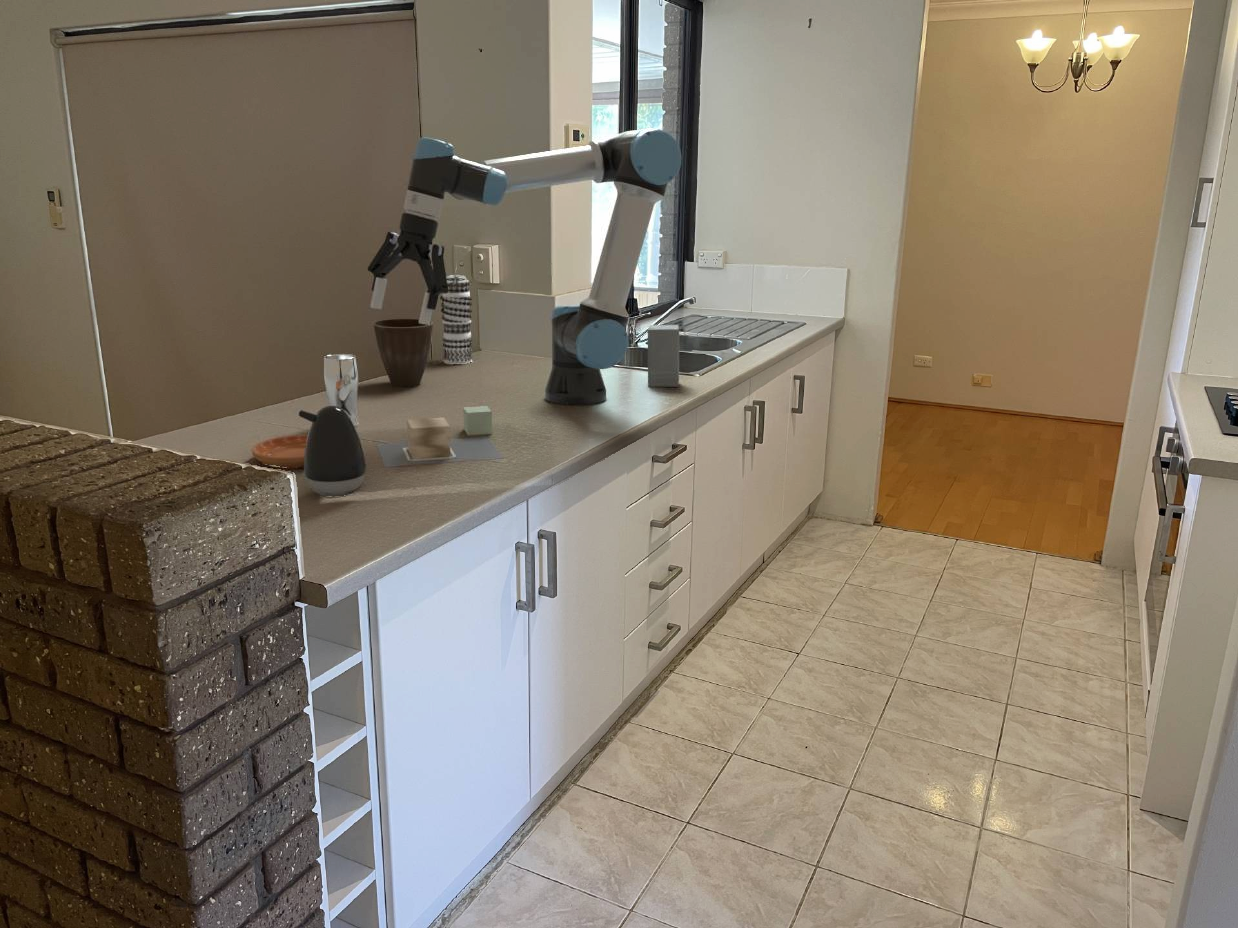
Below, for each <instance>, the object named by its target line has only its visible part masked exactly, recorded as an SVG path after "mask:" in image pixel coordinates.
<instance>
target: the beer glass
mask: <svg viewBox="0 0 1238 928" xmlns="http://www.w3.org/2000/svg"><path fill="white" fill-rule="evenodd" d="M357 362H358V361H357V356H356V355H354V354H349V353H335V354H327V355H325V356H324V357H323V375H324V376H323V378H324V385H325V390H326V395H327V398H328V402H329V406H338V407H340V408H342V409H343V410H344V411H345V412H346V413H347V414H348V415H349V417H350V419H351V420H352V422H353V424H354V426H355V428H356V427H358V425H360V422H359V417H358V413H357V398H358V392H359V390H358V389H359V371H358V363H357Z"/></svg>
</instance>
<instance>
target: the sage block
mask: <svg viewBox="0 0 1238 928" xmlns="http://www.w3.org/2000/svg"><path fill="white" fill-rule="evenodd" d="M462 409H463V410H462V413H463V414H462V416H463V430H464V431H465V433H466V434H467V436H476V435H477V436H478V435H490V434H492V435H493V417H492V415H493V414H492V410H491V409H490V408H489V407H488V406H487V405H485V406H484V405H481V406H466V407H462Z"/></svg>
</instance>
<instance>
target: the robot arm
mask: <svg viewBox="0 0 1238 928" xmlns="http://www.w3.org/2000/svg"><path fill="white" fill-rule="evenodd" d="M417 141H418V142H417V145H416V149H415V152H414V156H413V160H412V165H411V171H410V173H409V174H410V175H409V180H408V185H407V190H406V194H405V199H404V204H403V210H405V212H403V213H401V218H400V222H399V230H400V233H396V232H392V231H388V232H387V233H386V236H385V240H384V242H383V243H382V244H381V247H380V248H379V250H378V251H377V253H376V254H375V256H374V257H373V258H372V260H371V261H370V263H369V265H368V266H367V271H368V272H370V273H371V274H372V275H373V282H372V286H371V291H372V297H371V301H370V308H371V309H376V310H377V309H378V310H382V308H383V303H384V299H385V298H384V297H385V294H386V288H387V284H388V279H387V276H388V274H390V272H392V271H393V270H394V269H395V268H396V267H397V266H398V265H399V264H400V263H401V262H402V261H403V260H411V261H413V262H416V264H418V266H419V268H420V271H421V273H422V277H423V279H424V282H425V284H426V287H427V290H426V291H425V292H424V296H423V300H422V306H421V309H420V315H419V318H418V319H419V323H420V324H427V325H430V321H431V322H432V315H433V311H435V310H436V309H437V304H438V301H439V296H441V295H442V294H443V293H448V285H447V278H446V276H447V272H446V266H445V265H446V264H445V260H444V254H445V246H443V245H439V244H436V243H435V244H433V241H434V239H435V238H436V235H437V231H438V226H439V223H438V221H437V219H440V217H441V213H442V208H443V203H444V199H445V194H446V193H448V195H451V197H453V198H454V199H456V200H461V201H463V200H467V201H475V202H478V203H482V204H483V205H490V206H495V207H497V206H499V205H500V204H501V202H502V201H503V198H504V197H505V194H507V193H514V192H519V191H520V192H522V191H526V190H533V189H540V188H541V189H542V188H546V187H552V186H554V187H555V186H559V185H566V184H573V183H580V182H585V181H586V182H587V181H593V182H594V184H601V183H613V185H614V187H615V188H616V192H617V196H616V199H615V202H614V206H613V209H612V210H613V211H612V213H611V218H610V220H609V225H608V228H607V231H606V235H605V238H604V239H605V240H604V242H603V246H602V249H601V252H600V257H599V260H598V264H597V268H596V271H595V274H594V278H593V282H592V285H591V288H590V292H589V296H588V297H587V298H584V299H583V300H582V301H580V303H579V305H559V306H555V307H554V308H553V309H552V316H551V319H550V320H551V351H552V353H551V357H552V358H551V362H552V363H551V364H552V366H551V370H550V373H549V377H548V378H547V379H548V380H547V382H546V387H545V389H544V398H545V400H546V401H548V402H551V403H555V404H562V405H574V406H575V405H576V406H577V405H582V406H583V405H592V404H597V403H602V402H605V401H606V399H607V388H606V385H605V382H604V378H603V375H602V372H601V370H606V369H610V368H612V367H615V366H617V364H619V363H620V362H621V361H622V360H624V357H625V356H626V353H628V349H629V344H630V343H629V342H630V341H629V335H628V332H627V330H626V329H627V325H628V322H629V318H630V315H629V313H628V311H627V309H626V305H627V301H628V297H629V294H630V291H631V287H632V284H633V280H634V277H635V274H636V269H637V266H638V263H639V259H640V255H641V254H642V253H641V252H642V250H643V245H644V243H645V238H646V235H647V231H648V229H649V228H648V227H649V225H650V220H651V218H652V214H653V211H654V208H655V205H656V204H657V203H658V202H660V201H661V200H663V199H664V196H665V194H666V190H667V187H668V184H669V183H670V182H672V180H673V179H674V178H676V177H677V175H678V174H679V172H680V170H681V165H682V151H681V148H680V145H679V142H677V140H676V138H675V137H674V136H673V135H672V134H671V133H669V132H667V131H666V130H665V129H661V128H653V127H647V128H643V129H636V130H635V129H634V130H627V131H623V132H621V133H617V134H615V135H611V136H608V137H604V138H599V139H594V140H593V139H591V140H590V141H589V142H588V144H587V145H584V146H576V147H570V148H562V149H554V150H550V151H549V150H548V151H542V152H537V153H535V152H534V153H528V154H521V155H514V156H508V157H507V156H506V157H502V158H501V157H500V158H496V159H495V158H493V159H488V160H486V159H485V160H482V161H472V160H471V161H470V160H467V159H464V158H461V157H458V156H457V155H455V147H454V145H453V144H451V143H450V142H449V143H448V142H445V141H442V140H439V139H436V138H431V137H424V136H423V137H421V138H419V140H417ZM397 245H398V246H397ZM430 254H431V255H430ZM430 256H431V257H430Z"/></svg>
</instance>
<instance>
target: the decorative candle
mask: <svg viewBox="0 0 1238 928" xmlns="http://www.w3.org/2000/svg"><path fill="white" fill-rule="evenodd" d="M446 278H447V285H448V293H443V294H441V295H439V296H440V297H439V299H440V300H441V303H440V307H441V309H440V312H441V314H442V315H441V319H442V320H441V322H442V323H443V329H444V331H443V338H442V342H443V344H442V347H444V349H443V350H442V353H443V356H442V357H443V359H444V360H443V363H444V362H445V363H444V364H446V365H453V364H462V365H468V364H467V363H469V364H471V363H470V362H472V363H473V362H474V361H473V360H472V359H473V349H472V348H471V347H472V346H473V343H471V342H472V341H473V338H472V332H471V323H472V320H471V319H472V318H473V315H472V314H470V313H472V312H473V310H472V309H470V307H471V306H473V303H472V302H471V301H472V300H473V297H471V294H470V293H471V291H470V280H468V279H467V277H466V276H465V275H461V274H446Z"/></svg>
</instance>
